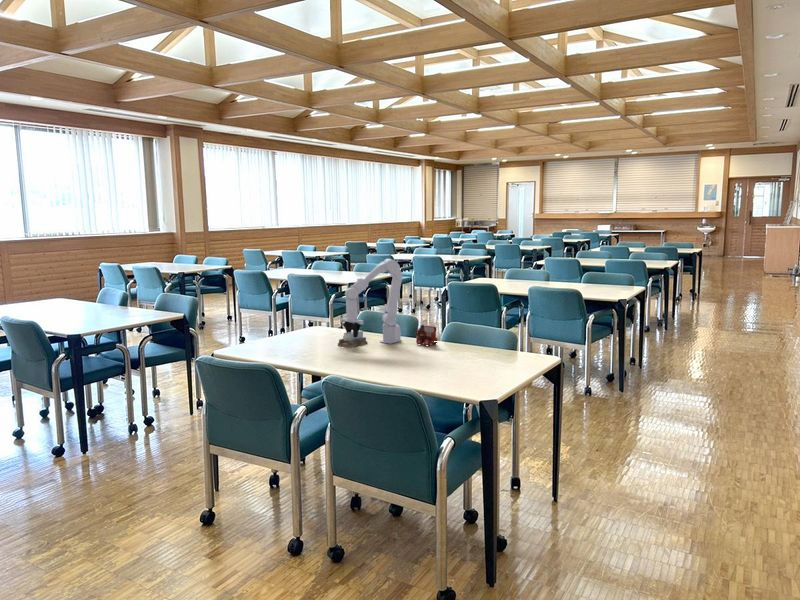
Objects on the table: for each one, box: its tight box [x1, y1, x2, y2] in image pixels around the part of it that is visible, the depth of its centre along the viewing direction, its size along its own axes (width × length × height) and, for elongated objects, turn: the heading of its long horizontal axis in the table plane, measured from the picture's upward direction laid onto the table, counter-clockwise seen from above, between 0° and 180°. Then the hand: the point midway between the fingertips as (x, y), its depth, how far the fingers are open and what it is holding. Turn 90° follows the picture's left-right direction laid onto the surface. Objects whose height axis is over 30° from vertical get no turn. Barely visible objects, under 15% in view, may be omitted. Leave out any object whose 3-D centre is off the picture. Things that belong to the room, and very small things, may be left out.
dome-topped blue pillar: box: [342, 329, 364, 341], centre depth 309 cm, size 12×4×4 cm, turn 140°
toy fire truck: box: [415, 324, 438, 347], centre depth 305 cm, size 7×12×10 cm, turn 48°
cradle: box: [337, 336, 368, 348], centre depth 309 cm, size 12×10×3 cm
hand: (352, 336), depth 309 cm, fingers closed on dome-topped blue pillar, 4 cm apart
